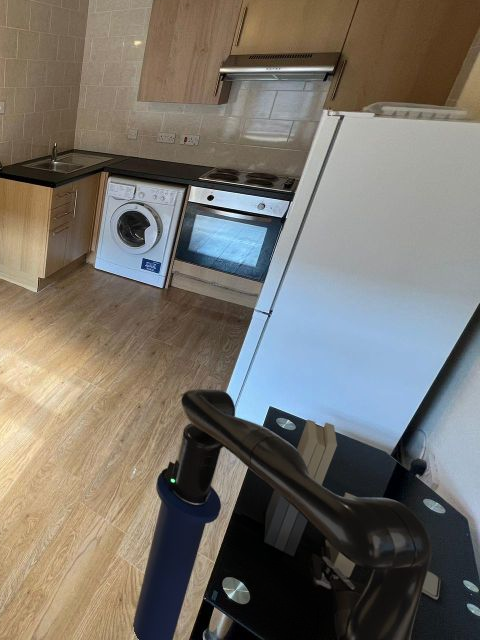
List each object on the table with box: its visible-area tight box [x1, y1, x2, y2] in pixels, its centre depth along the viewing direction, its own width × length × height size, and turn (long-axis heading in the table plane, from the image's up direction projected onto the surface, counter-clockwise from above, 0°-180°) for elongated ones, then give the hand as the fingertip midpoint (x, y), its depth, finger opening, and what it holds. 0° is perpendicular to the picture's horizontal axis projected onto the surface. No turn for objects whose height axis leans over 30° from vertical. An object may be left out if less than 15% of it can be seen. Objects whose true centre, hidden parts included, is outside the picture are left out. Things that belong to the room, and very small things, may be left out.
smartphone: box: [422, 570, 441, 600], centre depth 97 cm, size 7×1×15 cm
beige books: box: [296, 419, 338, 486], centre depth 119 cm, size 6×10×17 cm, turn 143°
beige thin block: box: [325, 492, 359, 579], centre depth 95 cm, size 3×11×16 cm, turn 143°
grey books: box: [263, 488, 309, 557], centre depth 101 cm, size 6×10×16 cm, turn 143°
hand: (351, 560), depth 88 cm, fingers open, 8 cm apart
